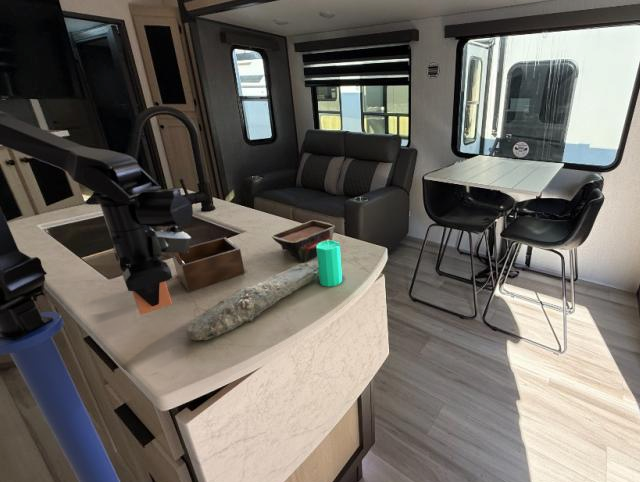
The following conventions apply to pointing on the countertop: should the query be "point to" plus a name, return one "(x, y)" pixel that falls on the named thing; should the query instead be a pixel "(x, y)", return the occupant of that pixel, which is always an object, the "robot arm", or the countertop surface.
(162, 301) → the block
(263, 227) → the countertop surface
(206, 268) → the chest
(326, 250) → the candle
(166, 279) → the robot arm
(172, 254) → the chest lid
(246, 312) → the elongated rock
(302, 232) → the baking dish
